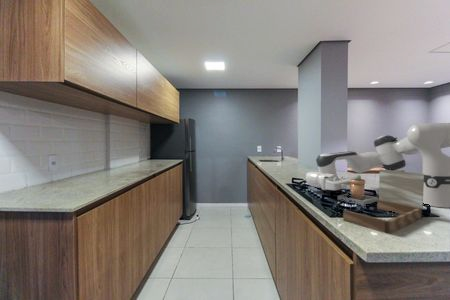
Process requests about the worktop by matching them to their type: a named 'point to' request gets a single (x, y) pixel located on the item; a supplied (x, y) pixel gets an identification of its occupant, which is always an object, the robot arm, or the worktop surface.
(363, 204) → the slate tray
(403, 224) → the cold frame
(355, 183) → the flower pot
